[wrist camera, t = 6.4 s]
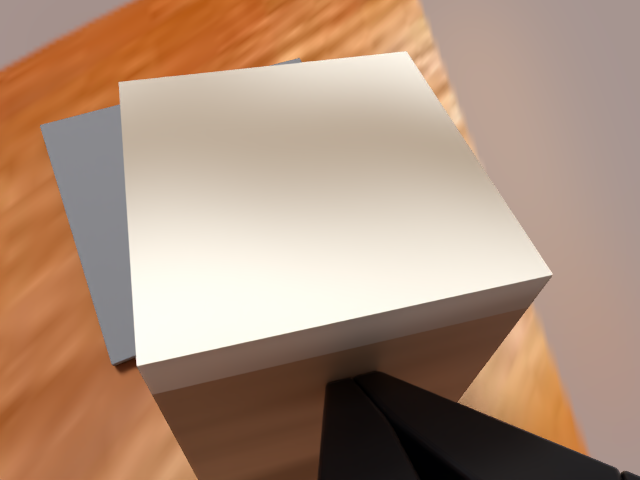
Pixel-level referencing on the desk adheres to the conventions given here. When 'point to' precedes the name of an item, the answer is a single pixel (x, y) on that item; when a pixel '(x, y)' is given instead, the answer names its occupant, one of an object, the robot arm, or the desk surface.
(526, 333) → the desk surface
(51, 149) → the mat
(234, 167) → the tan wooden block
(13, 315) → the desk surface
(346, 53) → the desk surface
